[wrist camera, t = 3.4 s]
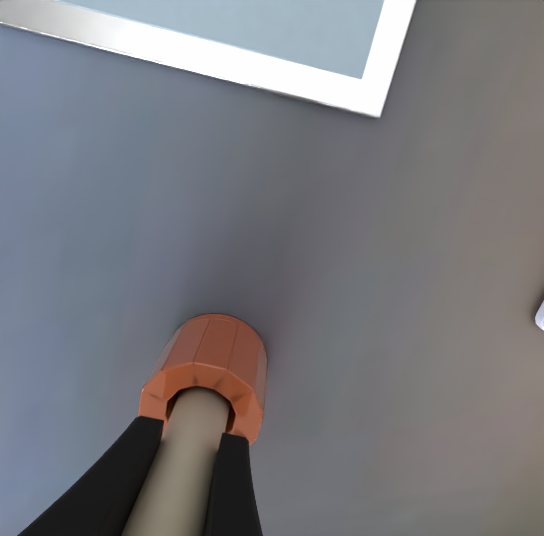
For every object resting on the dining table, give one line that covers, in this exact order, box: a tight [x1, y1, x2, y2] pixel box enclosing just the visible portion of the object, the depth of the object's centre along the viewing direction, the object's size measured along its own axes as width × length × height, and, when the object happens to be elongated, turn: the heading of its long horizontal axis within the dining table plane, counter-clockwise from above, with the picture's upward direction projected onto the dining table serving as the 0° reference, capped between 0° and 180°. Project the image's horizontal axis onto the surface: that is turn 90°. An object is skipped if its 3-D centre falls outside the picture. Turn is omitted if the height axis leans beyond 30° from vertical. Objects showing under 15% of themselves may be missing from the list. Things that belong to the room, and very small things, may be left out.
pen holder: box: [138, 314, 268, 445], centre depth 12 cm, size 4×4×3 cm
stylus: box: [121, 386, 231, 536], centre depth 8 cm, size 2×2×11 cm
